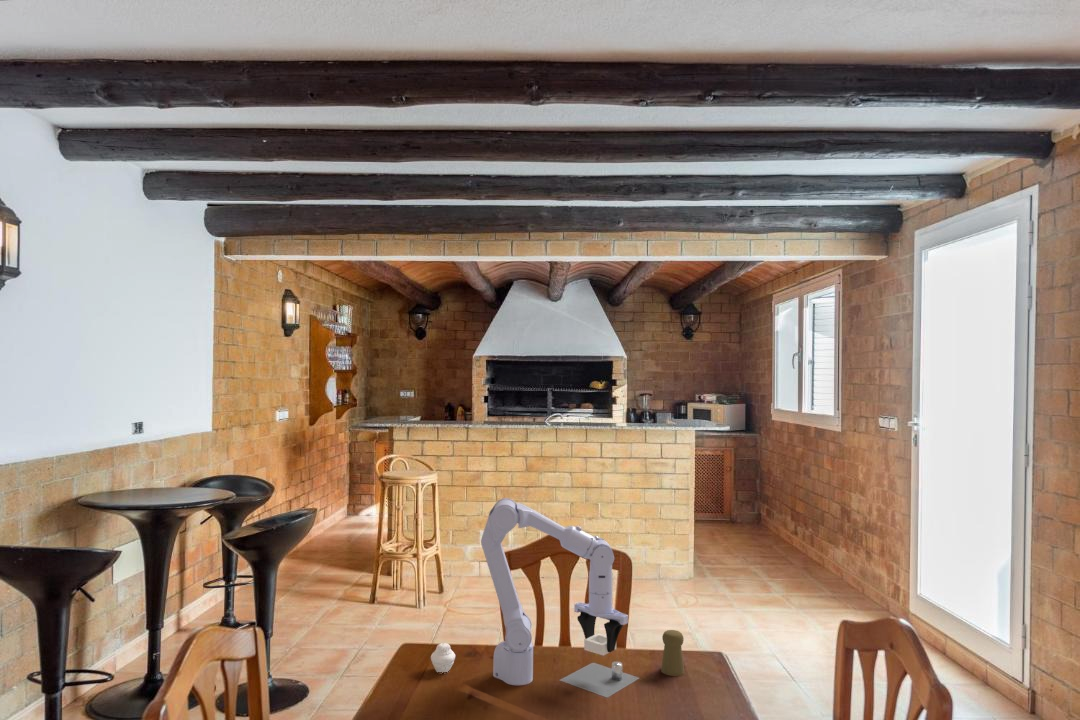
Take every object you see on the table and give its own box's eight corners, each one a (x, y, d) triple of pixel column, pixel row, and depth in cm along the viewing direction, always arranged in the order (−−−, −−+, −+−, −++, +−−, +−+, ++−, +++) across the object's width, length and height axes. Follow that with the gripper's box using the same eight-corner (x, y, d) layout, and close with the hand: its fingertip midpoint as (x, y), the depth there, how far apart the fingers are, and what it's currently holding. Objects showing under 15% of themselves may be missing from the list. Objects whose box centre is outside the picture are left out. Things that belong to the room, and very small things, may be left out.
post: (609, 678, 171) (609, 663, 171) (615, 675, 173) (615, 660, 173) (618, 681, 170) (618, 666, 170) (624, 678, 172) (624, 663, 172)
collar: (584, 649, 171) (584, 639, 171) (597, 643, 175) (597, 633, 175) (603, 655, 167) (603, 645, 167) (616, 648, 172) (616, 638, 172)
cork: (684, 682, 173) (685, 636, 173) (659, 679, 174) (660, 634, 174) (684, 672, 179) (685, 628, 179) (660, 669, 180) (661, 626, 180)
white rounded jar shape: (449, 664, 182) (449, 636, 182) (459, 673, 176) (459, 644, 176) (426, 668, 178) (427, 641, 179) (435, 678, 173) (436, 649, 173)
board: (559, 685, 170) (559, 680, 170) (592, 667, 181) (592, 662, 181) (607, 702, 161) (607, 697, 161) (639, 682, 172) (639, 677, 172)
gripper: (634, 593, 170) (634, 650, 170) (586, 581, 179) (586, 635, 179) (618, 600, 164) (618, 659, 164) (569, 588, 174) (569, 643, 173)
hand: (600, 647), depth 171 cm, fingers closed on collar, 6 cm apart
